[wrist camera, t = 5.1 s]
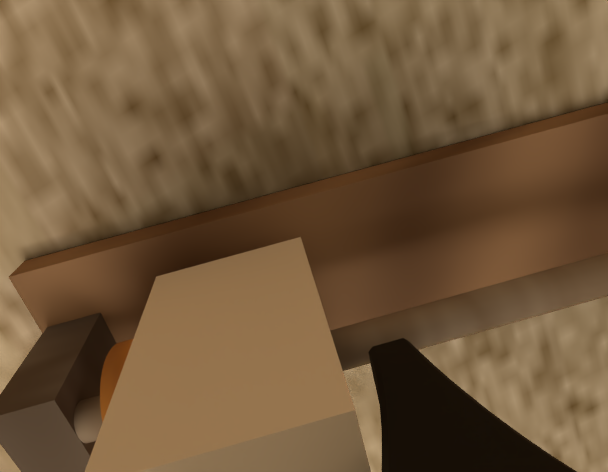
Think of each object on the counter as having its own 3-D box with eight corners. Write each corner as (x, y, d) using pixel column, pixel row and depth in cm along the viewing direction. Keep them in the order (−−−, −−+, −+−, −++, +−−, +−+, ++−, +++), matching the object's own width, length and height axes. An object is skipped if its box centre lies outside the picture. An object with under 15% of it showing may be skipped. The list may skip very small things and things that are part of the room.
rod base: (772, 57, 14) (1094, 64, 8) (738, 230, 16) (970, 316, 11) (25, 260, 13) (-115, 399, 8) (109, 407, 15) (44, 585, 10)
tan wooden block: (300, 236, 12) (354, 409, 6) (333, 361, 14) (399, 582, 8) (156, 276, 12) (78, 489, 6) (209, 396, 14) (186, 646, 8)
